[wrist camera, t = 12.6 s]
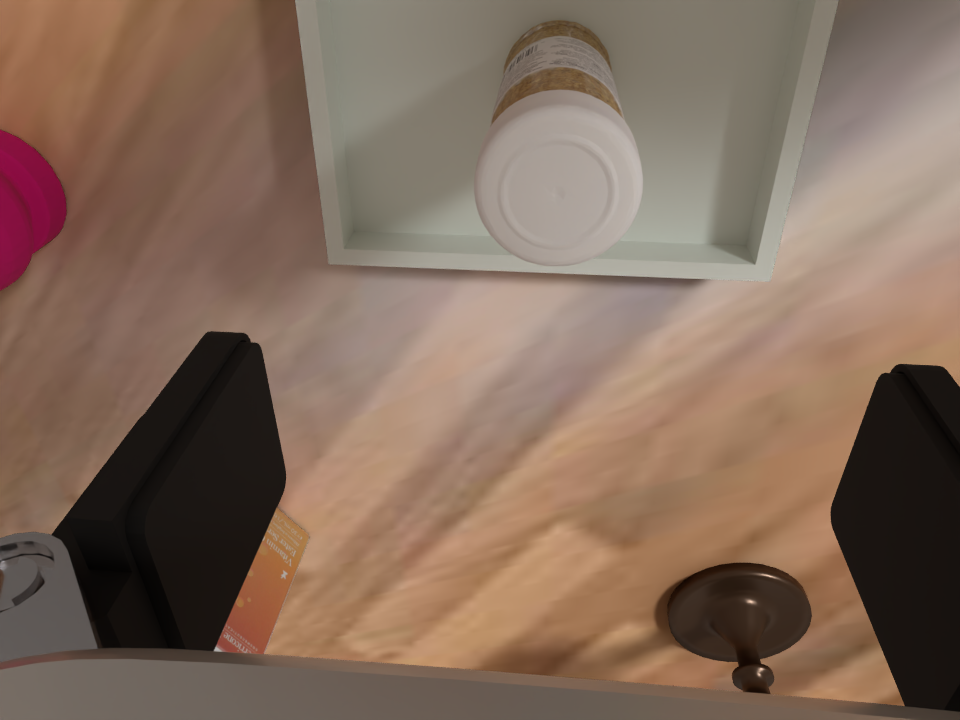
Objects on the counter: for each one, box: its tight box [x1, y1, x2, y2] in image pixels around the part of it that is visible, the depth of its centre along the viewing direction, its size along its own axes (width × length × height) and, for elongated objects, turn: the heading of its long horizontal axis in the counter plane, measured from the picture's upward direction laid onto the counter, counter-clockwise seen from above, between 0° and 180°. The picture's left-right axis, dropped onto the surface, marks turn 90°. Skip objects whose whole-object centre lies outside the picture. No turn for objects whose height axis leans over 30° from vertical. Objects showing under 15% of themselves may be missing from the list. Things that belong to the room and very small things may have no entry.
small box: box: [214, 508, 310, 654], centre depth 44 cm, size 8×6×10 cm
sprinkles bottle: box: [474, 20, 643, 266], centre depth 25 cm, size 5×5×13 cm
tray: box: [295, 0, 839, 282], centre depth 30 cm, size 20×16×3 cm
